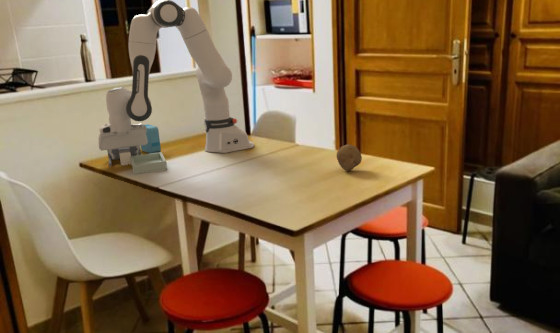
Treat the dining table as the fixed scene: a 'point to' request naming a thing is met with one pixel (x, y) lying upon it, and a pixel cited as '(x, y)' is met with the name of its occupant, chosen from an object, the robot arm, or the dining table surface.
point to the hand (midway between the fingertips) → (125, 157)
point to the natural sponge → (348, 157)
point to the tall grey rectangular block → (125, 156)
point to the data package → (152, 140)
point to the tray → (148, 163)
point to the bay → (116, 152)
